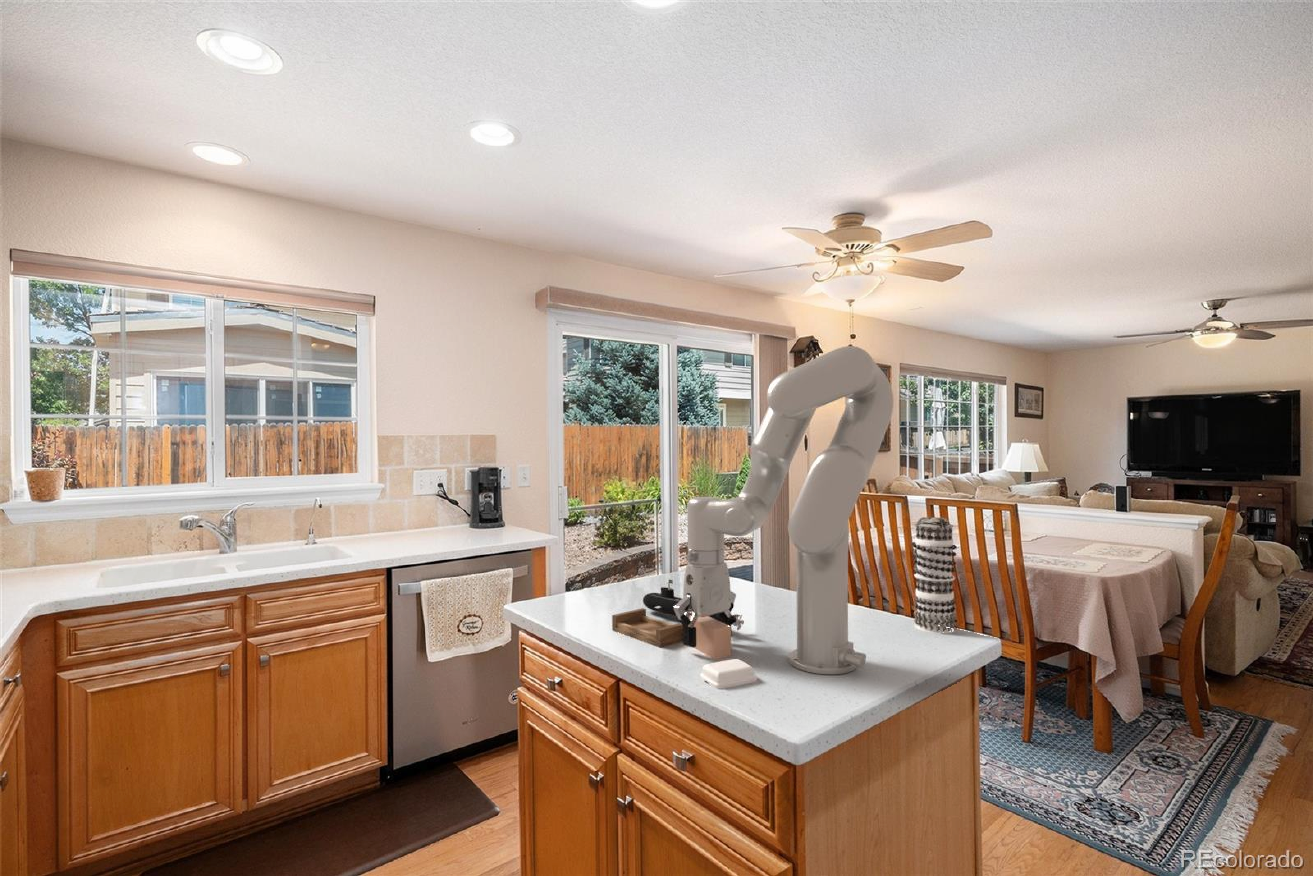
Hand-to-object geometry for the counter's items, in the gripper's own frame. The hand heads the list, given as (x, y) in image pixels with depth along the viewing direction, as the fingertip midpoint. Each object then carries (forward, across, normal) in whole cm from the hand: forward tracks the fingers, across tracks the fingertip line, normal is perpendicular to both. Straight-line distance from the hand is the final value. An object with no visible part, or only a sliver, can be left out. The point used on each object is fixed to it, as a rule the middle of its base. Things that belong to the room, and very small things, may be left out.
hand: (706, 640), depth 130 cm
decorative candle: (+2, +47, -26) cm, 54 cm away
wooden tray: (+2, -2, +15) cm, 15 cm away
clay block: (+2, 0, 0) cm, 2 cm away
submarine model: (+2, +10, +15) cm, 18 cm away
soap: (+2, -9, -14) cm, 17 cm away
